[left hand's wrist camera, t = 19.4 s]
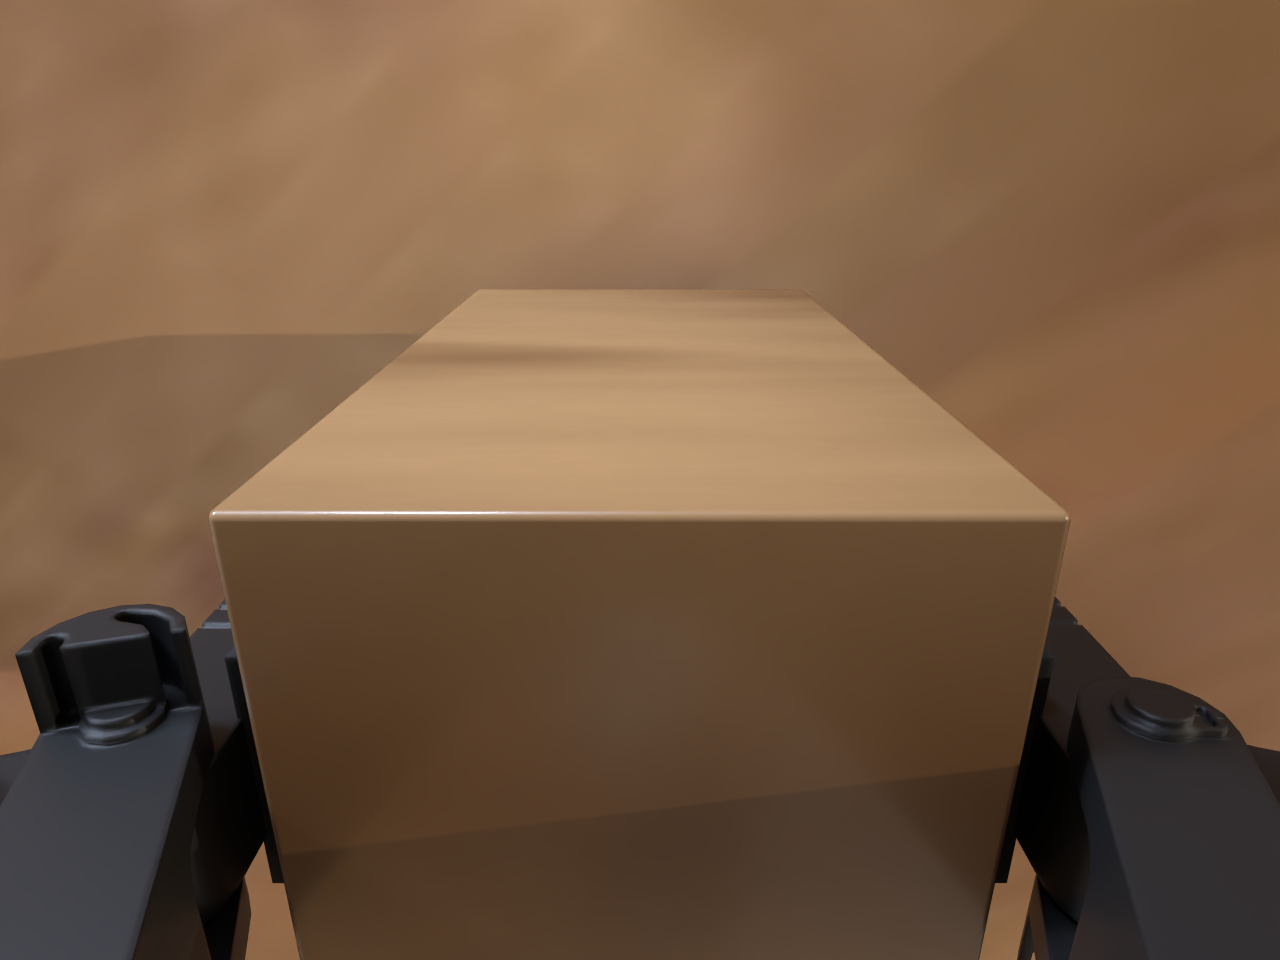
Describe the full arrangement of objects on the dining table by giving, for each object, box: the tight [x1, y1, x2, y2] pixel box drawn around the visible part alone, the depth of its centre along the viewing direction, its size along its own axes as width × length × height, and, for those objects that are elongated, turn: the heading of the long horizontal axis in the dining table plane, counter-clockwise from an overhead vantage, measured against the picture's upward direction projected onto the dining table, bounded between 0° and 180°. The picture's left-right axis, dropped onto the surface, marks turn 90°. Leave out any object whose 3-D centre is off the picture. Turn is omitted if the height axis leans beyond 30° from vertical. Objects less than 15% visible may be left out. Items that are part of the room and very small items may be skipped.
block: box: [209, 290, 1070, 960], centre depth 12 cm, size 6×6×10 cm
